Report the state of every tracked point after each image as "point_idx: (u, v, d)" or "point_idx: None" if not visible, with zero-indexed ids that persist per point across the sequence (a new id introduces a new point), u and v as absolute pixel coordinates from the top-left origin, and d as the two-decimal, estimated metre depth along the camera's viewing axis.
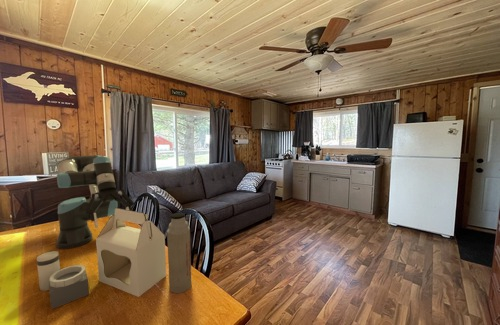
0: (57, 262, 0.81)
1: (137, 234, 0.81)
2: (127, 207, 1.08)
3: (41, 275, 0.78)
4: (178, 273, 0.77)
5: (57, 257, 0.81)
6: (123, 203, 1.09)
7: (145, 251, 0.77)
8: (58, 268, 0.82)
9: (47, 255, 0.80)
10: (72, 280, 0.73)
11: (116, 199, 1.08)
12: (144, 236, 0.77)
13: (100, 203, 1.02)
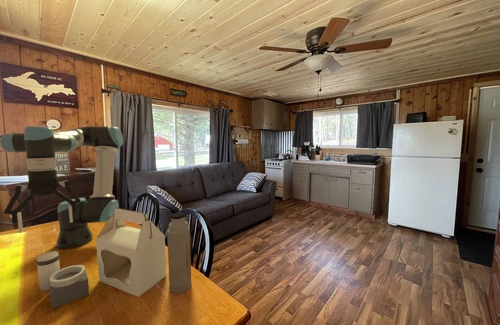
0: (57, 262, 0.81)
1: (137, 234, 0.81)
2: (69, 207, 0.83)
3: (41, 275, 0.78)
4: (178, 273, 0.77)
5: (57, 257, 0.81)
6: (65, 200, 0.82)
7: (145, 251, 0.77)
8: (58, 268, 0.82)
9: (47, 255, 0.80)
10: (72, 280, 0.73)
11: (55, 193, 0.81)
12: (143, 236, 0.77)
13: (29, 200, 0.75)
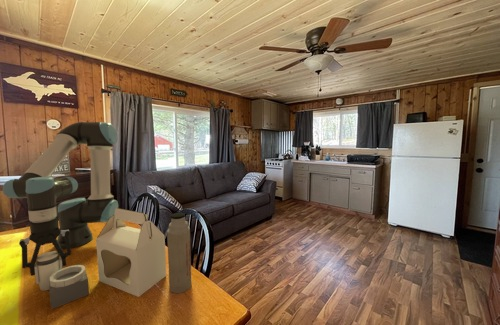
0: (57, 262, 0.81)
1: (137, 234, 0.81)
2: (60, 261, 0.82)
3: (41, 275, 0.78)
4: (178, 273, 0.77)
5: (57, 257, 0.81)
6: (57, 251, 0.82)
7: (145, 251, 0.77)
8: (58, 268, 0.82)
9: (47, 255, 0.80)
10: (72, 280, 0.73)
11: None
12: (143, 236, 0.77)
13: (38, 251, 0.78)
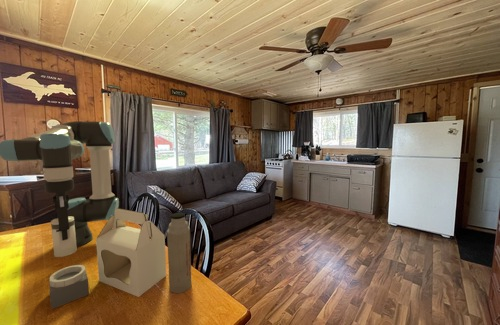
0: None
1: (137, 234, 0.81)
2: (58, 231, 0.71)
3: None
4: (178, 273, 0.77)
5: (57, 226, 0.71)
6: None
7: (145, 251, 0.77)
8: (58, 238, 0.72)
9: None
10: (72, 280, 0.73)
11: None
12: (143, 236, 0.77)
13: (57, 211, 0.75)
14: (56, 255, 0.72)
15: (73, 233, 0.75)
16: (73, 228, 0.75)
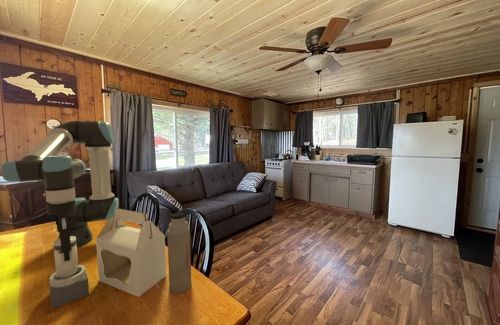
0: None
1: (137, 234, 0.81)
2: (61, 253, 0.72)
3: None
4: (178, 273, 0.77)
5: (59, 247, 0.72)
6: None
7: (145, 251, 0.77)
8: (61, 259, 0.73)
9: None
10: (72, 280, 0.73)
11: None
12: (144, 236, 0.77)
13: None
14: (58, 276, 0.73)
15: (75, 253, 0.76)
16: (75, 248, 0.76)
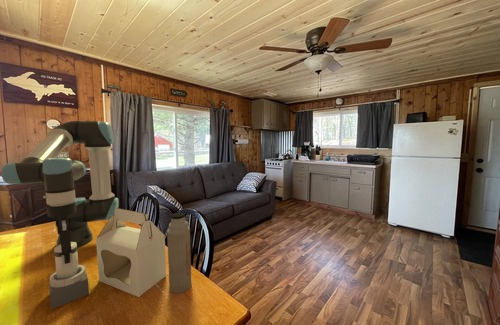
0: (60, 259, 0.72)
1: (137, 234, 0.81)
2: (61, 255, 0.71)
3: None
4: (178, 273, 0.77)
5: None
6: None
7: (145, 251, 0.77)
8: (61, 266, 0.73)
9: None
10: (72, 280, 0.73)
11: None
12: (144, 236, 0.77)
13: None
14: None
15: (76, 259, 0.76)
16: (76, 254, 0.76)
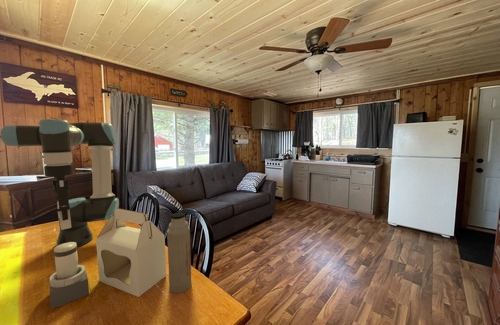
0: (60, 259, 0.73)
1: (137, 234, 0.81)
2: (59, 211, 0.71)
3: None
4: (178, 273, 0.77)
5: (60, 253, 0.72)
6: None
7: (145, 251, 0.77)
8: (61, 266, 0.73)
9: (66, 245, 0.75)
10: (72, 280, 0.73)
11: None
12: (143, 236, 0.77)
13: None
14: None
15: (76, 259, 0.76)
16: (76, 254, 0.76)
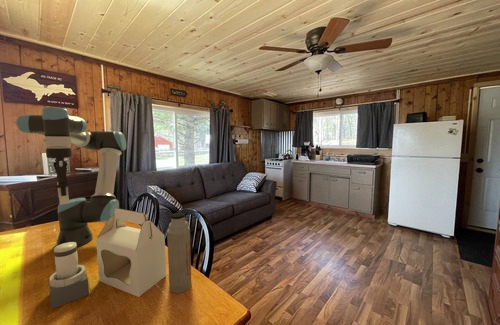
0: (60, 259, 0.73)
1: (137, 234, 0.81)
2: (58, 188, 0.80)
3: None
4: (178, 273, 0.77)
5: (60, 253, 0.72)
6: None
7: (145, 251, 0.77)
8: (61, 266, 0.73)
9: (66, 245, 0.75)
10: (72, 280, 0.73)
11: None
12: (143, 236, 0.77)
13: None
14: None
15: (76, 259, 0.76)
16: (76, 254, 0.76)
